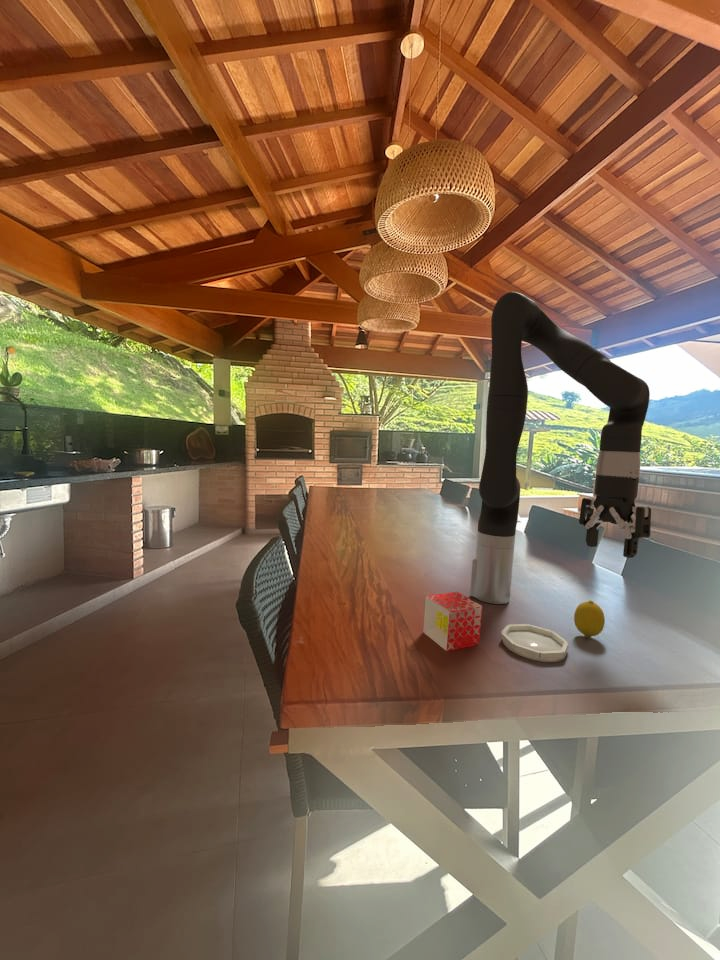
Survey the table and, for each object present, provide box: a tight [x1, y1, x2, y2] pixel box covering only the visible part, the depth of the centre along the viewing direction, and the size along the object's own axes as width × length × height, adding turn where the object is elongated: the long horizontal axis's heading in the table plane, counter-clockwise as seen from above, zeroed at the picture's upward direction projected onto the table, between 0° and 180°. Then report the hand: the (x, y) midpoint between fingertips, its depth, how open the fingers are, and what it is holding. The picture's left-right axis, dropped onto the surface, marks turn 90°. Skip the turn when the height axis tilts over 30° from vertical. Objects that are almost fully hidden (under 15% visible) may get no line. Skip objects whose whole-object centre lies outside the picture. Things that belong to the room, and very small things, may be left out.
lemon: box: [573, 600, 606, 639], centre depth 84 cm, size 6×6×8 cm
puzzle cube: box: [422, 591, 483, 652], centre depth 81 cm, size 8×8×8 cm
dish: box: [500, 623, 570, 663], centre depth 79 cm, size 12×12×2 cm
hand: (609, 551), depth 83 cm, fingers open, 8 cm apart
